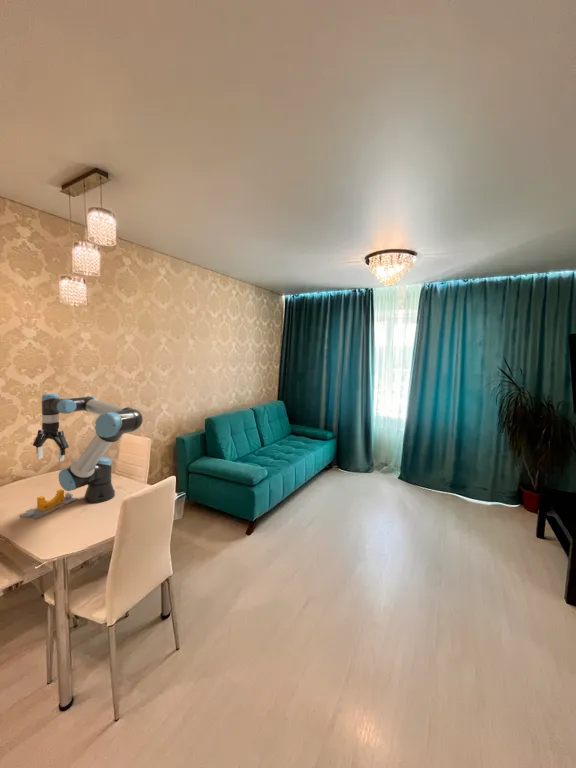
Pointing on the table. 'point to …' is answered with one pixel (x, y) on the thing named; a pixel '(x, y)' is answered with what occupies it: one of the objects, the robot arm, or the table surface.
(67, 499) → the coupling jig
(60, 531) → the table surface
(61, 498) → the pipe clamp
